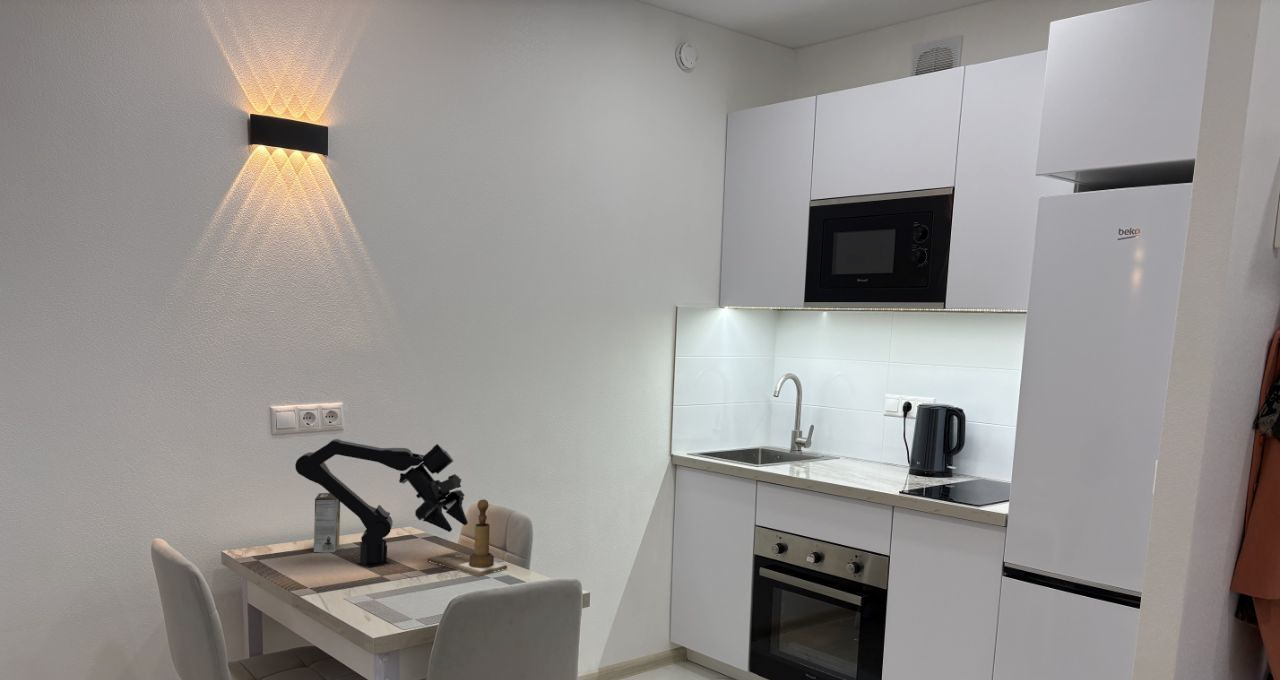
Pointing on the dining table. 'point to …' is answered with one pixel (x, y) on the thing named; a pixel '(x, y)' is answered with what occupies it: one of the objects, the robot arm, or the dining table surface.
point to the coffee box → (326, 523)
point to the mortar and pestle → (481, 540)
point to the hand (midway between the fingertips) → (458, 527)
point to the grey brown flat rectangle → (464, 563)
